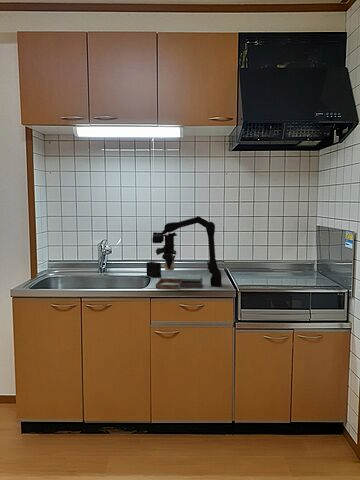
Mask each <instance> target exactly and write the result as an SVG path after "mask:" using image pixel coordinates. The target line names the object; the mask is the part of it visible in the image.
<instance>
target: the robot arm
mask: <svg viewBox="0 0 360 480" xmlns="http://www.w3.org/2000/svg"><path fill="white" fill-rule="evenodd" d="M195 224H199V225H201V226H202V227H204V229H205V231H206V233H207V234H206V235H207V241H208V252H209V260H208V261H207V262H206V265H207V270H208V272H209V273H210V274H211V276H210V283H209V284H210V286H211V287H222V286H223V281H222V280H223V279H222V277H223V276H222V271H221V270H220V269H219V267H218V263H217V259H216V248H215V232H216V225H215V223H214V222H213V221H208V220H206V219H204V218H203V217H201V216H199V215H198V216H195V217H191V218H188V219H184V220H181V221H173V222H167V223H166V224H165V225H163V226H164V227H163V230H162V231H161V232H156V231H155V232H152V237H151V238H152V239H151V241H152V244H162V243H163V242H164V245H163V246H162V247H157V248H156V249H155V253H156V255H157V256H159V255H161V254H162V256H161V259H162V260H164V261H165V262H167V266H168V269H170V267H171V264H172V261H174V262H175V259H176V255H177V251H176V249H175V237H177V236H178V234H177V233H176V232H175V231H176V230H178V229H180V228H184V227H188V226H191V225H195Z"/></svg>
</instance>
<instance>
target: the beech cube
mask: <svg viewBox="0 0 360 480" xmlns="http://www.w3.org/2000/svg"><path fill="white" fill-rule="evenodd" d="M164 270H165V271H171V272H172V271H174V270H175V260H174V261H172V264H171V267H170V269H168V266H167V262H166V261H165V262H164Z"/></svg>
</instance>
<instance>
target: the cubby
mask: <svg viewBox="0 0 360 480" xmlns="http://www.w3.org/2000/svg"><path fill="white" fill-rule="evenodd" d="M181 280H182V279H176V278H164V277H163V278H161V277H160V279H159V280H158V281H157V283H155V289H156V288H163V289H162V290H179V284H180V282H181ZM163 283H164V284H163ZM166 283H167V284H166ZM168 283H169V284H168ZM171 283H174V284H171ZM177 283H178V284H177Z"/></svg>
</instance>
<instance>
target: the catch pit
mask: <svg viewBox="0 0 360 480" xmlns="http://www.w3.org/2000/svg"><path fill="white" fill-rule="evenodd" d="M202 287H203V280H201V281H185V280H181V282H180V283H179V288H187V289H188V288H191V289H192V288H193V289H195V288H196V289H197V288H198V289H202Z"/></svg>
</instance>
